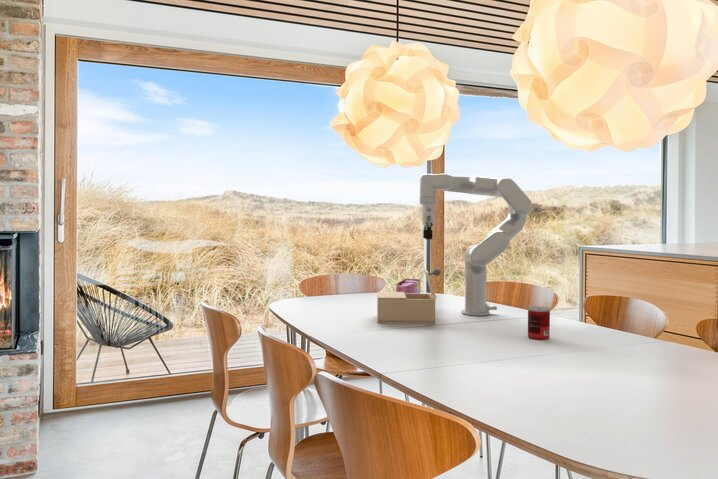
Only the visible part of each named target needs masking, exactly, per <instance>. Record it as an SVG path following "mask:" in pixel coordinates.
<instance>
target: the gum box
mask: <svg viewBox="0 0 718 479" xmlns="http://www.w3.org/2000/svg"><path fill="white" fill-rule="evenodd" d="M395 285H396V289H395V290H396V291H395V292H404V293H405V294H421V279H420V278H419V279H417V278H416V279H415V278H405V279H403V280H401V281H399V282H397V283H396V284H395Z"/></svg>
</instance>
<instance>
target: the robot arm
mask: <svg viewBox="0 0 718 479" xmlns="http://www.w3.org/2000/svg"><path fill="white" fill-rule="evenodd" d="M437 190H439V191H442V192H450V193H460V194H461V193H463V194H466V195H467V194H468V195H478V196H486V197H497V198H502V199H503V200H504V201H505V202H506V203H507V205H508V208H507V209H508V215H507V217H506V219H504V220H503V221H502V222H501V223H500V224H498V225H497V226H496V227H495V228H493V229H492V230H490V231H489V232H487V233H486V235H485V236H484V239H483V240H482V241H481V242H479V243H477V244H472V245H470V246H468V247H467V248H466V250H465V252H464V269H465V270H464V272H465V274H464V276H465V277H464V278H465V281H464V283H465V284H464V288H465V289H464V291H465V292H464V309H461V314H462V315H468V316H476V317H477V316H481V317H483V316H488V315H490V314H491V313H490V311H497V310H498V306H497V305H489V304H488V303H487V279H488V278H487V265H489V264H490V263H492V262H493V260H495V259H496V258H497V257H499V256H500V255H502V254H503V253H504V252H505V251H506V250H507V249H508V248H509V246H510V242H511V240H512V239H514V238H515V237H516V236H517V235H518V234H519V233H520V232H521V231H522V230H523V229H524V227H525V225H526V221H527V216H528V215H529V214H530V213H531V212H532V210H533V203H532V200H531V198H529V196H528V195H527V194H526V193H525V191H523V190H522V189H521V188H520V185H519V186H518V184H517V183H516V182H515V181H514V180H513V179H512V178H509V177H502V178H501V177H491V176H483V175H481V176H480V175H470V176H458V175H452V174H450V173H448V172H445V173H436V174H434V173H422V174H421V175H420V176H419V205H422V206H421V207H422V208H421V216H422V217H421V218H422V226H423V232H422V238H423V239H425V240H433V227H435V226H436V219H435V218H436V217H435V216H436V213H435V205H437Z"/></svg>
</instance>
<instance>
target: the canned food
mask: <svg viewBox="0 0 718 479" xmlns="http://www.w3.org/2000/svg"><path fill="white" fill-rule="evenodd" d="M550 316H551V309H550V308H549V307H546V306H530V307H528V309H527V337H528V339H530V340H534V339H535V340H534V341H547V340H549V339H550V330H551V329H550V327H551V325H550V321H551V317H550Z"/></svg>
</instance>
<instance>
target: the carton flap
mask: <svg viewBox="0 0 718 479" xmlns="http://www.w3.org/2000/svg"><path fill="white" fill-rule="evenodd" d="M423 271H424V275H425V279H426V282H427V284H428V288H429V291H430V294H432V296H433V297H434V298H435V300H437V295H436V292H435V289H434V285H433V283H432V279H431V276H432V275H434V276H436V277H438V276H440V275H441V272H442V271H441V270H440V268H434V270H433V271H432V272H429V271H428V270H427V269H426V267H425V268H423Z"/></svg>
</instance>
